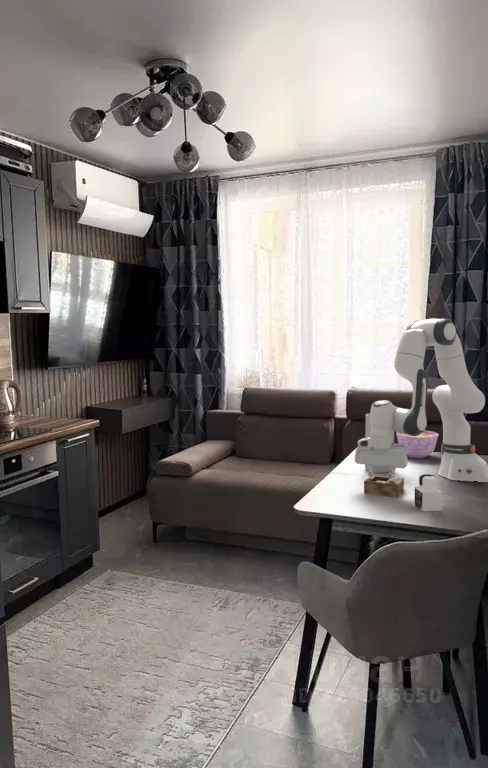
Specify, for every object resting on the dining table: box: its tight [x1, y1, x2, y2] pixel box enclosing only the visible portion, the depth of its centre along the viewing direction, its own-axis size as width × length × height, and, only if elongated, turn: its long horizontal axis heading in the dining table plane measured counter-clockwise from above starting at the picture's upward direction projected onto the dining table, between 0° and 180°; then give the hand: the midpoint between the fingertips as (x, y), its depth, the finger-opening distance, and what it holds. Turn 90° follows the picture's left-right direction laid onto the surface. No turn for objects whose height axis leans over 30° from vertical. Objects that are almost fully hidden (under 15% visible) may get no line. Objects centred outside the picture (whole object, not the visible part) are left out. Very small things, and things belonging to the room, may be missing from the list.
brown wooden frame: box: [363, 474, 405, 498], centre depth 229 cm, size 13×11×5 cm
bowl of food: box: [395, 430, 439, 459], centre depth 289 cm, size 20×20×12 cm
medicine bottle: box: [413, 474, 442, 513], centre depth 208 cm, size 7×7×12 cm
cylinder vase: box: [364, 413, 395, 474], centre depth 262 cm, size 12×12×25 cm
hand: (380, 476), depth 230 cm, fingers open, 7 cm apart
